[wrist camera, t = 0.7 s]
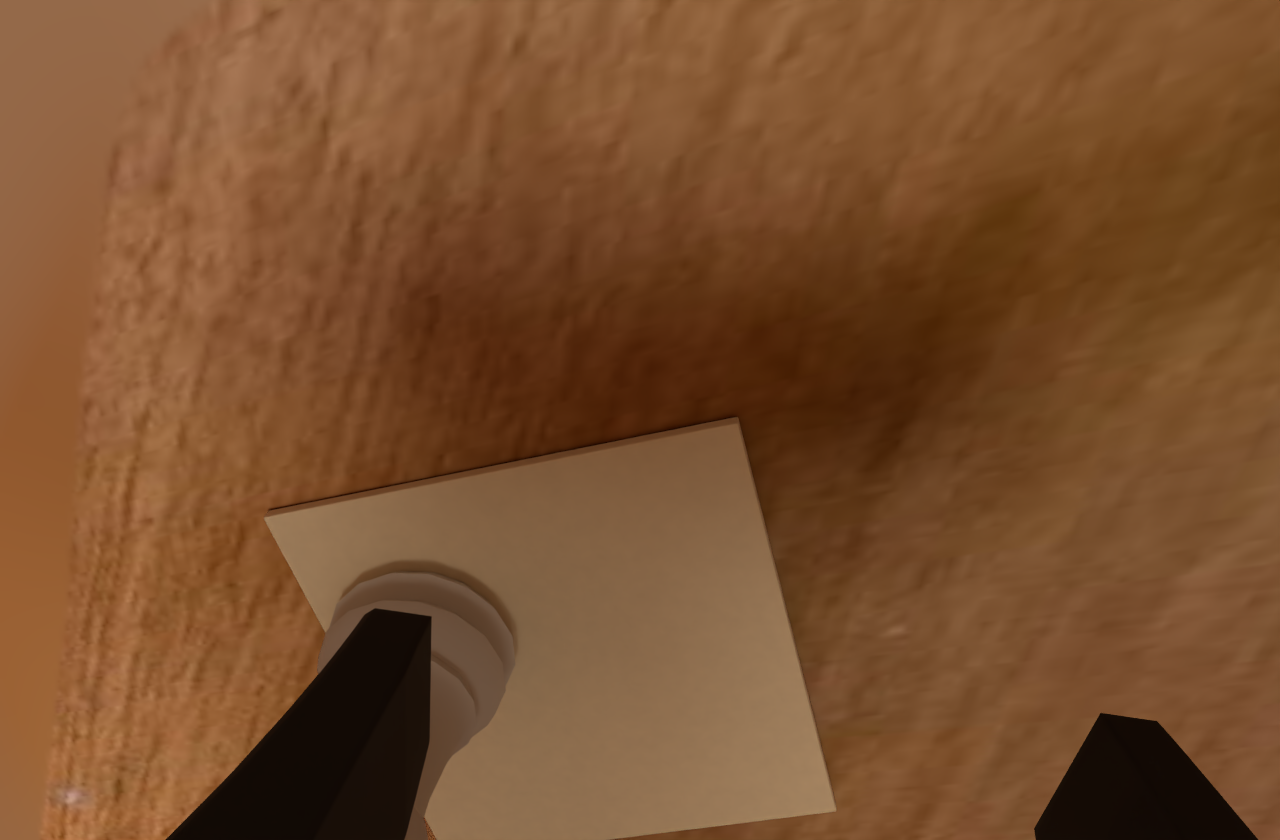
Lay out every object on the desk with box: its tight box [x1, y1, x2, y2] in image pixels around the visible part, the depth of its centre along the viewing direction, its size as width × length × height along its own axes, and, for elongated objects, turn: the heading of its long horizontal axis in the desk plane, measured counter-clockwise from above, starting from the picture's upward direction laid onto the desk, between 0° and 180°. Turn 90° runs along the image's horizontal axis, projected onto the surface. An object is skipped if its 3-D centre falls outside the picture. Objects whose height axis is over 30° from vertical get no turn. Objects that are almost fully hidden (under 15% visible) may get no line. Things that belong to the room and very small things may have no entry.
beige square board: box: [264, 417, 837, 840], centre depth 25 cm, size 11×12×1 cm
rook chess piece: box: [317, 571, 515, 840], centre depth 21 cm, size 4×4×8 cm
